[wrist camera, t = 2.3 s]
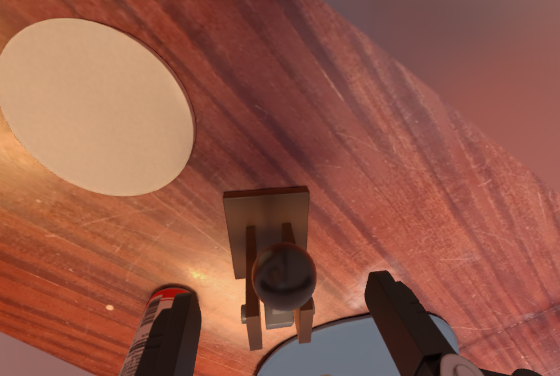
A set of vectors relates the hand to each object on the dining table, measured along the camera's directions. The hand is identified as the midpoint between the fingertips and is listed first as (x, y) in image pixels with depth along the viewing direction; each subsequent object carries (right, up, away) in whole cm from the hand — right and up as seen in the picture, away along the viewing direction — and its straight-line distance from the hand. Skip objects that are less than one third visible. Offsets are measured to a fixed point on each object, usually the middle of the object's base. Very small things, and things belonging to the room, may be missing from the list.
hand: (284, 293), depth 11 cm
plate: (-15, +11, +9) cm, 21 cm away
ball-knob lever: (0, -1, +6) cm, 6 cm away
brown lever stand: (-2, -1, +18) cm, 18 cm away
